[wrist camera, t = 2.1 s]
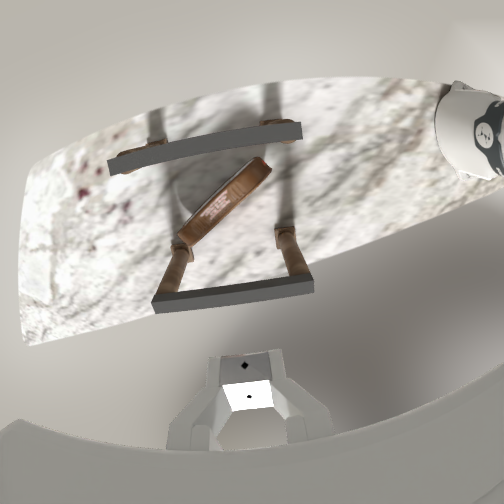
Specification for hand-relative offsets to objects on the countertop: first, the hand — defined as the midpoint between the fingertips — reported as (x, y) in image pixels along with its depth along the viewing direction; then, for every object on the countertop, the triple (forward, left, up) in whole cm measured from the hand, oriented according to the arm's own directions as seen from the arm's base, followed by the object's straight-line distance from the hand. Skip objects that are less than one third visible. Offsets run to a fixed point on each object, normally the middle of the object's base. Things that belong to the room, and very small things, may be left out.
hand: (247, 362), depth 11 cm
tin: (+3, 0, -31) cm, 31 cm away
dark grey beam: (+3, +8, -18) cm, 20 cm away
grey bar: (+3, -8, -18) cm, 20 cm away
